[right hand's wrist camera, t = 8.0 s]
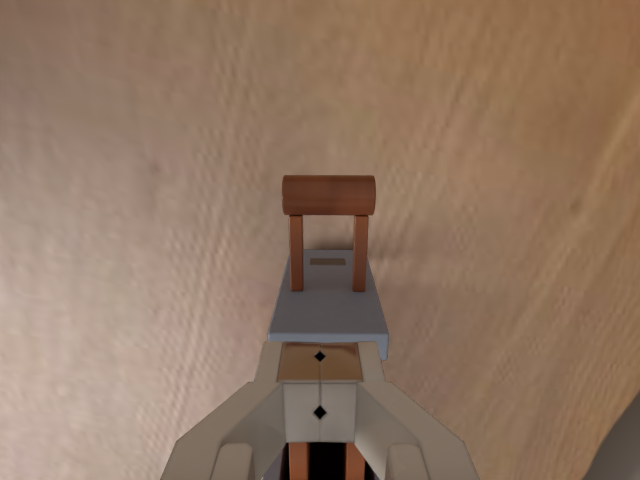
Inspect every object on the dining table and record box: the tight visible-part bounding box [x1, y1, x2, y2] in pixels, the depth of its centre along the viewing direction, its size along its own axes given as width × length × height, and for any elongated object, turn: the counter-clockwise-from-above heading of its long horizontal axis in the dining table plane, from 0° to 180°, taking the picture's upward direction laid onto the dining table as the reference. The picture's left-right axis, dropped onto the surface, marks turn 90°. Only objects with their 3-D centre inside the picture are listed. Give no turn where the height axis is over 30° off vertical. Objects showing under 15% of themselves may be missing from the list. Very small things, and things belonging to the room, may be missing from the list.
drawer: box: [268, 175, 389, 480], centre depth 21 cm, size 24×5×10 cm, turn 0°
